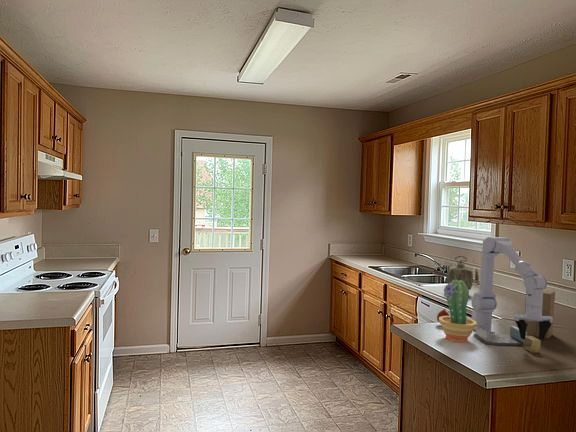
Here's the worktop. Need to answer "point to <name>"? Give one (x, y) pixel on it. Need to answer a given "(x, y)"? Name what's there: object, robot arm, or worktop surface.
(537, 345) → the brass block
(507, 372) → the worktop surface
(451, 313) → the potted cactus
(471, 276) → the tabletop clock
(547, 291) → the wooden block
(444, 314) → the pomegranate
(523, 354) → the worktop surface
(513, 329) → the block
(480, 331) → the vise
